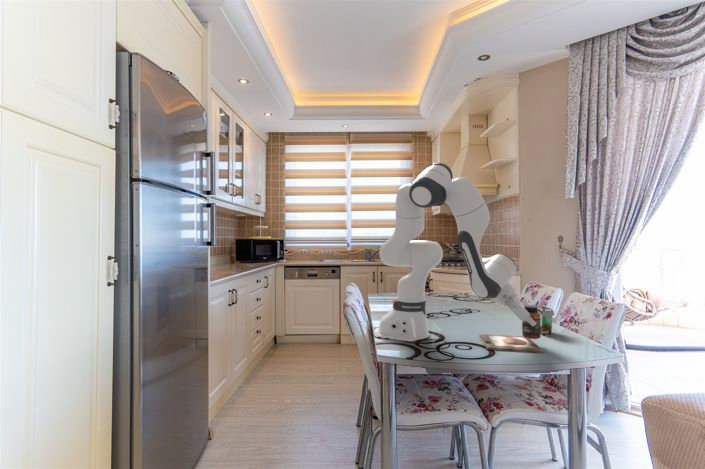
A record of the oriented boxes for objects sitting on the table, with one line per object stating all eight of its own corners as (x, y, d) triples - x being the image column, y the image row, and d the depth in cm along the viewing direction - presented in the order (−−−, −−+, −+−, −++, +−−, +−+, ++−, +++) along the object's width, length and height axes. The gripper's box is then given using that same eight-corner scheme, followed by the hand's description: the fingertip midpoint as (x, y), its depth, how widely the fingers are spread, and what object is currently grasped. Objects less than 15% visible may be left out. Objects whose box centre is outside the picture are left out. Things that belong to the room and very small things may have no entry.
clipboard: (487, 349, 115) (487, 345, 115) (479, 336, 130) (479, 332, 130) (543, 352, 111) (543, 348, 111) (528, 338, 126) (528, 335, 126)
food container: (560, 337, 128) (559, 311, 129) (543, 336, 130) (542, 311, 130) (547, 328, 140) (547, 305, 141) (532, 328, 142) (532, 305, 142)
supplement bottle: (542, 336, 118) (542, 306, 118) (538, 340, 114) (538, 308, 114) (524, 333, 122) (524, 303, 122) (520, 337, 118) (519, 306, 118)
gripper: (512, 292, 111) (545, 323, 107) (507, 284, 130) (535, 310, 127) (498, 304, 113) (530, 335, 109) (495, 294, 132) (522, 320, 128)
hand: (533, 322), depth 118 cm, fingers closed on supplement bottle, 6 cm apart
